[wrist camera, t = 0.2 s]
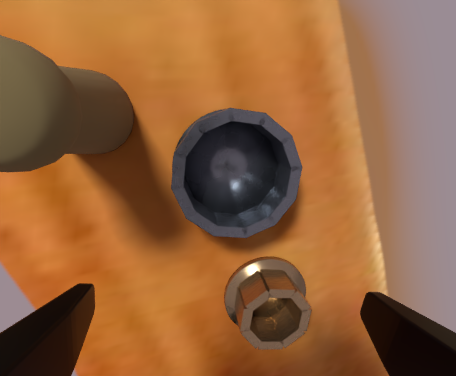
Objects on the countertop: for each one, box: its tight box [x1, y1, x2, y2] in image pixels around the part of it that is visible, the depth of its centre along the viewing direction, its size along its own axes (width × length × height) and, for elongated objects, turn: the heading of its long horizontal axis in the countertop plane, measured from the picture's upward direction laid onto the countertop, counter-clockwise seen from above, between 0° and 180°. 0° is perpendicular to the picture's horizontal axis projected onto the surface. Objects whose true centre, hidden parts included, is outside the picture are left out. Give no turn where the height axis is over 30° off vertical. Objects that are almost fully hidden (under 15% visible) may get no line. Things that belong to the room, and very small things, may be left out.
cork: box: [0, 35, 134, 172], centre depth 14 cm, size 6×6×11 cm
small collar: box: [224, 257, 311, 349], centre depth 24 cm, size 8×8×4 cm
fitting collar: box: [171, 108, 302, 238], centre depth 20 cm, size 10×10×4 cm
